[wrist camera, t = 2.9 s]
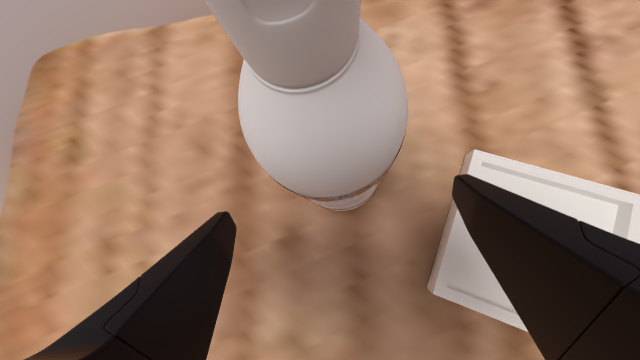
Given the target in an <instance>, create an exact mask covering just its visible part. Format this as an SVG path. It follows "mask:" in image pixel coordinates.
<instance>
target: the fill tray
mask: <svg viewBox="0 0 640 360" xmlns="http://www.w3.org/2000/svg"><path fill="white" fill-rule="evenodd" d="M462 174H469V175H472V176H474V177H476V178H479V179H481V180H484V181H486V182H489V183H491V184H493V185H496V186H498V187H501V188H503V189H505V190H508V191H510V192H513V193H515V194H518V195H520V196H522V197H525V198H527V199H530V200H532V201H534V202H537V203H539V204H542V205H544V206H547V207H549V208H551V209H554V210H556V211H559V212H561V213H563V214H566V215H568V216H571V217H573V218H576V219H577V220H578V221H583V222H585V223H588V224H590V225H593V226H595V227H597V228H600V229H602V230H605V231H608V232H610V233H613V234H615V235H618V236H620V237H623V238H625V239H628V240H631V241H634V242H636V243H639V244H640V195H639V194H635V193H632V192H628V191H624V190H621V189H617V188H613V187H610V186H606V185H602V184H599V183H595V182H592V181H588V180H584V179H581V178H577V177H573V176H570V175H566V174H562V173H559V172H555V171H552V170H548V169H544V168H541V167H537V166H533V165H530V164H526V163H522V162H519V161H515V160H512V159H508V158H504V157H501V156H497V155H493V154H490V153H486V152H482V151H479V150H475V149H474V150H473V151H471V152H469V153H468V154H466V155H465V158H464V162H463V165H462V169H461V172H460V175H462ZM427 289H428V290H429V291H430V292H431V293H432V294H434V295H437V296H439V297H442V298H444V299H447V300H449V301H452V302H454V303H457V304H459V305H462V306H464V307H467V308H469V309H472V310H474V311H477V312H479V313H482V314H484V315H487V316H489V317H492V318H494V319H497V320H499V321H502V322H504V323H507V324H509V325H512V326H514V327H517V328H519V329H522V330H524V331H527V332H528V330H527V329H526V327H525V325H524V324H523V322H522V320H521V319H520V317H519V315H518V314H517V312H516V310H515V309H514V307H513V306H512V304H511V302H510V301H509V299H508V297H507V296H506V294H505V292H504V291H503V289H502V287H501V286H500V284H499V282H498V281H497V279H496V277H495V276H494V274H493V273H492V271H491V269H490V268H489V266H488V264H487V263H486V261H485V259H484V258H483V256H482V254H481V253H480V251H479V249H478V248H477V246H476V244H475V243H474V241H473V240H472V238H471V236H470V234H469V232H468V230H467V228H466V226H465V224H464V222H463V220H462V217H461V215H460V213H459V211H458V209H457V206H456V204H455V202H454V200H453V199H452V203H451V206H450V210H449V213H448V217H447V220H446V223H445V227H444V230H443V234H442V237H441V241H440V244H439V247H438V251H437V254H436V258H435V261H434V265H433V268H432V271H431V275H430V278H429V282H428V285H427Z"/></svg>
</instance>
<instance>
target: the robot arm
mask: <svg viewBox="0 0 640 360" xmlns="http://www.w3.org/2000/svg"><path fill="white" fill-rule="evenodd" d="M452 196H453V200H454V202H455V204H456V206H457V209H458V211H459V213H460V215H461V217H462V220H463V222H464V224H465V226H466V228H467V230H468V232H469V234H470V236H471V238H472V240H473V241H474V243H475V244H476V246H477V248H478V249H479V251H480V253H481V254H482V256H483V258H484V259H485V261H486V263H487V264H488V266H489V268H490V269H491V271H492V273H493V274H494V276H495V277H496V279H497V281H498V282H499V284H500V286H501V287H502V289H503V291H504V292H505V294H506V296H507V297H508V299H509V301H510V302H511V304H512V306H513V307H514V309H515V310H516V312H517V314H518V315H519V317H520V319H521V320H522V322H523V324H524V325H525V327H526V329H527V330H528V332H529V334H530V335H531V337H532V339H533V340H534V342H535V343H536V345H537V347H538V348H539V350H540V352H541V353H542V355H543V357H544V358H545V360H640V244H639V243H636V242H634V241H631V240H628V239H625V238H623V237H620V236H618V235H615V234H613V233H610V232H608V231H605V230H602V229H600V228H597V227H595V226H593V225H590V224H588V223H585V222H583V221H578V220H577V219H576V218H573V217H571V216H568V215H566V214H563V213H561V212H559V211H556V210H554V209H551V208H549V207H547V206H544V205H542V204H539V203H537V202H534V201H532V200H530V199H527V198H525V197H522V196H520V195H518V194H515V193H513V192H510V191H508V190H505V189H503V188H501V187H498V186H496V185H493V184H491V183H489V182H486V181H484V180H481V179H479V178H476V177H474V176H472V175H469V174H462V175H457V176H455V178H454V183H453V190H452ZM235 237H236V225H235V223H234V221H233V219H232V217H231V216H230V214H229V213H228V212H227V211H224V212H218V213H216V214H215V215H214V216H213V217H211V218H210V219H209V220H208V221H206V222H205V223H204V224H203V225H202V226H200V227H199V228H198V229H197V230H196V231H194V232H193V233H192V234H191V235H189V236H188V237H187V238H186V239H185V240H183V241H182V242H181V243H180V244H179V245H177V246H176V247H175V248H174V249H173V250H171V251H170V252H169V253H168V254H166V255H165V256H164V257H163V258H162V259H160V260H159V261H158V262H157V263H156V264H154V265H153V266H152V267H151V268H149V269H148V270H147V271H146V272H145V273H143V274H142V275H141V277H138V278H137V279H136V280H135V281H134V282H132V283H131V284H130V285H129V286H128V287H126V288H125V289H124V290H123V291H121V292H120V293H119V294H118V295H116V296H115V297H114V298H112V299H111V300H110V301H109V302H107V303H106V304H105V305H103V306H102V307H101V308H99V309H98V310H97V311H95V312H94V313H93V314H91V315H90V316H89V317H87V318H86V319H85V320H83V321H82V322H81V323H79V324H78V325H77V326H75V327H74V328H73V329H71V330H70V331H69V332H67V333H66V334H65V335H63V336H62V337H61V338H59V339H58V340H57V341H55V342H54V343H52V344H51V345H50V346H48V347H47V348H45V349H43V350H42V351H40V352H38V353H36V354H35V355H33V356H31V357H29V358H26V359H24V360H206V358H207V355H208V351H209V347H210V343H211V339H212V336H213V332H214V328H215V324H216V320H217V317H218V313H219V309H220V305H221V302H222V298H223V294H224V290H225V286H226V283H227V279H228V275H229V271H230V267H231V263H232V257H233V251H234V244H235Z"/></svg>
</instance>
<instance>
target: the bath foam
mask: <svg viewBox="0 0 640 360" xmlns="http://www.w3.org/2000/svg"><path fill="white" fill-rule="evenodd" d="M204 1H205V3H206V4H207V6H208V7H209V9H210V10H211V12H212V13H213V15H214V16H215V18H216V19H217V21H218V22H219V23H220V25H221V26H222V28H223V29H224V31H225V32H226V34H227V35H228V37H229V38H230V40H231V41H232V42H233V44H234V45H235V47H236V48H237V50H238V51H239V52H240V54H241V55H242V57H243V58H244V61H243V65H242V70H241V75H240V82H239V92H238V108H239V118H240V123H241V127H242V131H243V134H244V137H245V140H246V142H247V144H248V146H249V148H250V150H251V152H252V154H253V155H254V157H255V158H256V160H257V161H258V163H259V164H260V165H261V167H262V168H263V169H264V170H265V171H266V172H267V173H268V174H269V175H270V177H271V178H273V179H274V180H275V181H276V182H277V183H278V184H280V185H281V186H283V187H284V188H286V189H288V190H290V191H292V192H294V193H296V194H298V195H300V196H302V197H304V198H306V199H308V200H309V201H311V202H313V203H315V204H317V205H319V206H321V207H324V208H326V209H329V210H333V211H348V210H352V209H355V208H357V207H359V206H361V205H363V204H364V203H366V202H367V201H368V200H369V199H370V198H371V197H372V195H373V194H374V193H375V191H376V190H377V188H378V186H379V185H380V183H381V181H382V180H383V178H384V176H385V175H386V173H387V171H388V170H389V168H390V166H391V165H392V163H393V161H394V160H395V158H396V156H397V155H398V153H399V151H400V148H401V146H402V143H403V140H404V135H405V130H406V125H407V116H408V101H407V93H406V87H405V83H404V79H403V76H402V73H401V70H400V67H399V65H398V63H397V61H396V59H395V57H394V55H393V54H392V52H391V51H390V49H389V48H388V46H387V45H386V44H385V42H384V41H383V40H382V39H381V38H380V36H379V35H378V34H377V33H376V32H375V31H374V30H373V29H372V28H371V27H370V26H369V25H368V24H367V23H365V22H364V21H363V20H362V19H361V18H360V2H361V0H204Z"/></svg>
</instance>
